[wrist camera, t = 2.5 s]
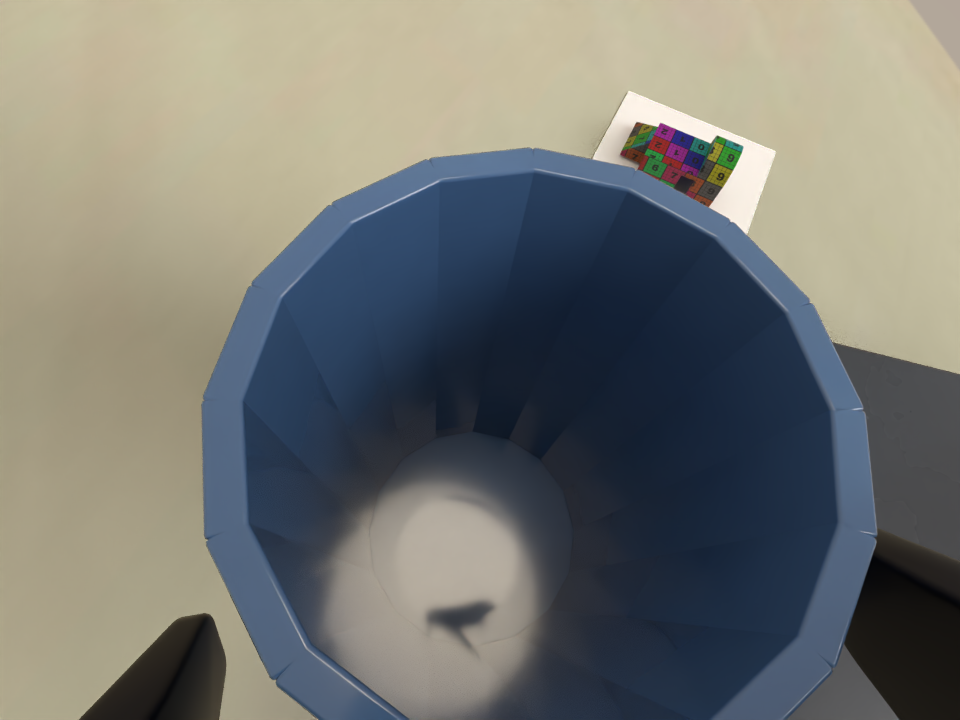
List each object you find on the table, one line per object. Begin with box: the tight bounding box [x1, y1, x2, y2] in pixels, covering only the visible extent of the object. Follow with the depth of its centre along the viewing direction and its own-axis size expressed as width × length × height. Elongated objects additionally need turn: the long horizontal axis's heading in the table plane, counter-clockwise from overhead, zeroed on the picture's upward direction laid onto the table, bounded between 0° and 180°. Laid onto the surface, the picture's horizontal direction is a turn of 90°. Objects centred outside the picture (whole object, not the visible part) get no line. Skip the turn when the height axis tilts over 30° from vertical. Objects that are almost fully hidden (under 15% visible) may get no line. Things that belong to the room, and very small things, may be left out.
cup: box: [201, 148, 877, 720], centre depth 11 cm, size 7×7×12 cm
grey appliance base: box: [787, 342, 960, 720], centre depth 15 cm, size 15×12×4 cm
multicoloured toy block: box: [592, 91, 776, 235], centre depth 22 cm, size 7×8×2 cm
